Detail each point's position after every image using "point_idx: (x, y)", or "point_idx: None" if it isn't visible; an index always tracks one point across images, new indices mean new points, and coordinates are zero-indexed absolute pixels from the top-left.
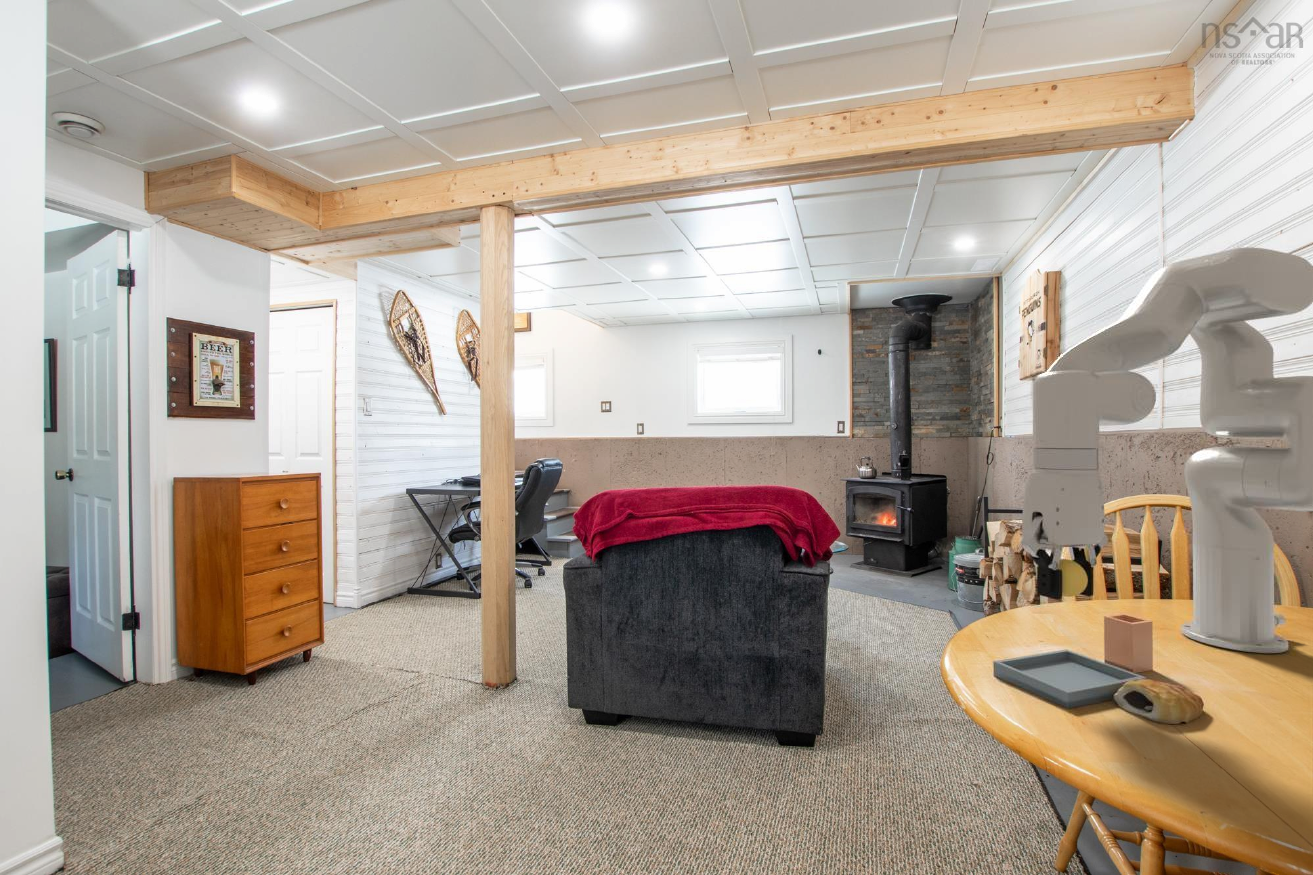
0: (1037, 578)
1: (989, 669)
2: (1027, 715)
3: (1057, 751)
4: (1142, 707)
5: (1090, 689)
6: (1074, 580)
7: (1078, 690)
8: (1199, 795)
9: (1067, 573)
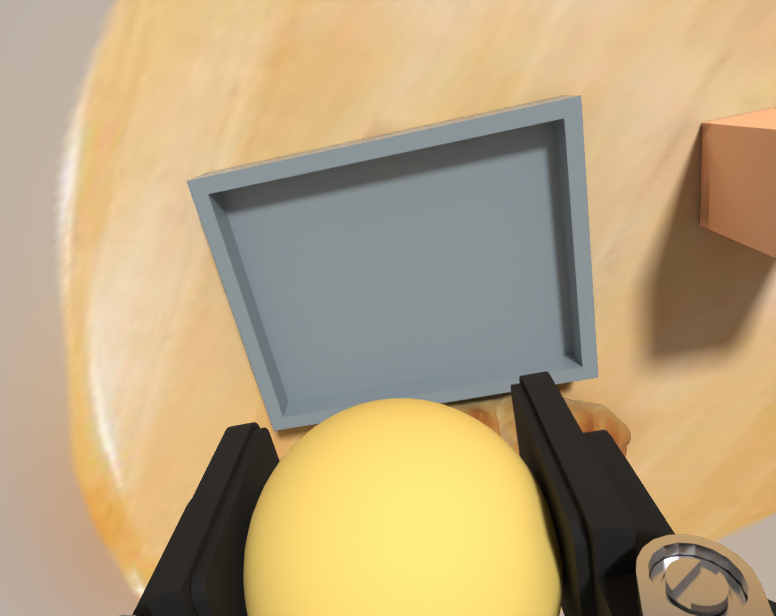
0: (193, 499)
1: (222, 115)
2: (158, 419)
3: (133, 542)
4: None
5: None
6: None
7: (314, 422)
8: None
9: None
